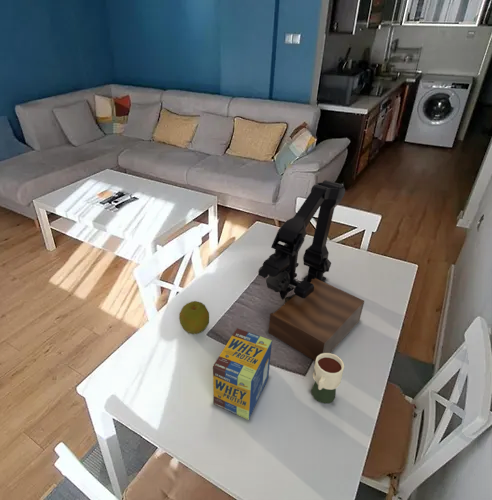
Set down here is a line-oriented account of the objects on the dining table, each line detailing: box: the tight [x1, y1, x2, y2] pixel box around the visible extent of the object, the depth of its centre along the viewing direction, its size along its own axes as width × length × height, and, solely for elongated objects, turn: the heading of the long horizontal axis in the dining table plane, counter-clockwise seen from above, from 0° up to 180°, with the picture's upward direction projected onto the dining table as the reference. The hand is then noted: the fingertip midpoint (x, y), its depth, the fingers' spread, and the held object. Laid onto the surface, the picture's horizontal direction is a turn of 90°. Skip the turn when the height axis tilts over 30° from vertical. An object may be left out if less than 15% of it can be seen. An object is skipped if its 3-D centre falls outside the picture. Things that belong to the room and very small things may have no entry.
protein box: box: [212, 327, 273, 420], centre depth 102 cm, size 10×15×16 cm
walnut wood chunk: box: [268, 278, 365, 362], centre depth 124 cm, size 25×19×9 cm
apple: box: [178, 300, 210, 335], centre depth 125 cm, size 10×10×11 cm
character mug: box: [310, 352, 345, 404], centre depth 101 cm, size 11×7×13 cm, turn 144°
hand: (282, 298), depth 132 cm, fingers closed
